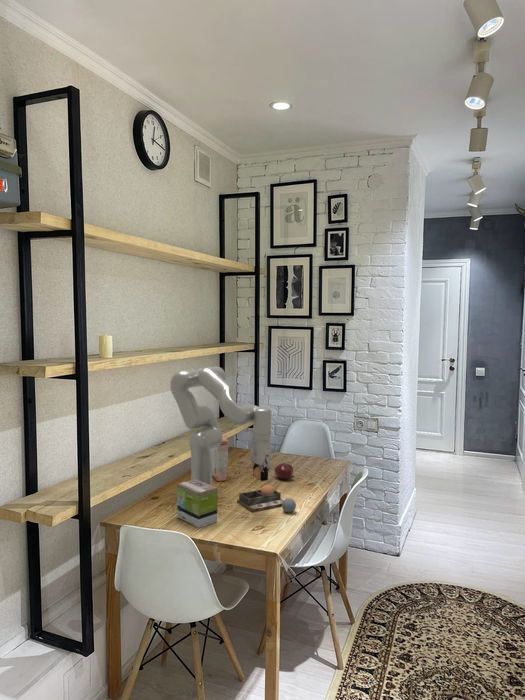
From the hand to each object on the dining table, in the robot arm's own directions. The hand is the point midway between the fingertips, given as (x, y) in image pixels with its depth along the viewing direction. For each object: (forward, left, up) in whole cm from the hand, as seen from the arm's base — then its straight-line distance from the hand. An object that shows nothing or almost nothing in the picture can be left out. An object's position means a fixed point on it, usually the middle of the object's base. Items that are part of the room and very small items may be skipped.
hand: (260, 477), depth 226 cm
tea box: (-27, +5, -15) cm, 31 cm away
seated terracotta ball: (+10, +10, -11) cm, 18 cm away
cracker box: (+6, +52, -15) cm, 55 cm away
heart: (+35, +35, -15) cm, 52 cm away
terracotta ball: (0, 0, +2) cm, 2 cm away
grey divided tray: (+6, +8, -15) cm, 18 cm away
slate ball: (+11, -6, -12) cm, 17 cm away
